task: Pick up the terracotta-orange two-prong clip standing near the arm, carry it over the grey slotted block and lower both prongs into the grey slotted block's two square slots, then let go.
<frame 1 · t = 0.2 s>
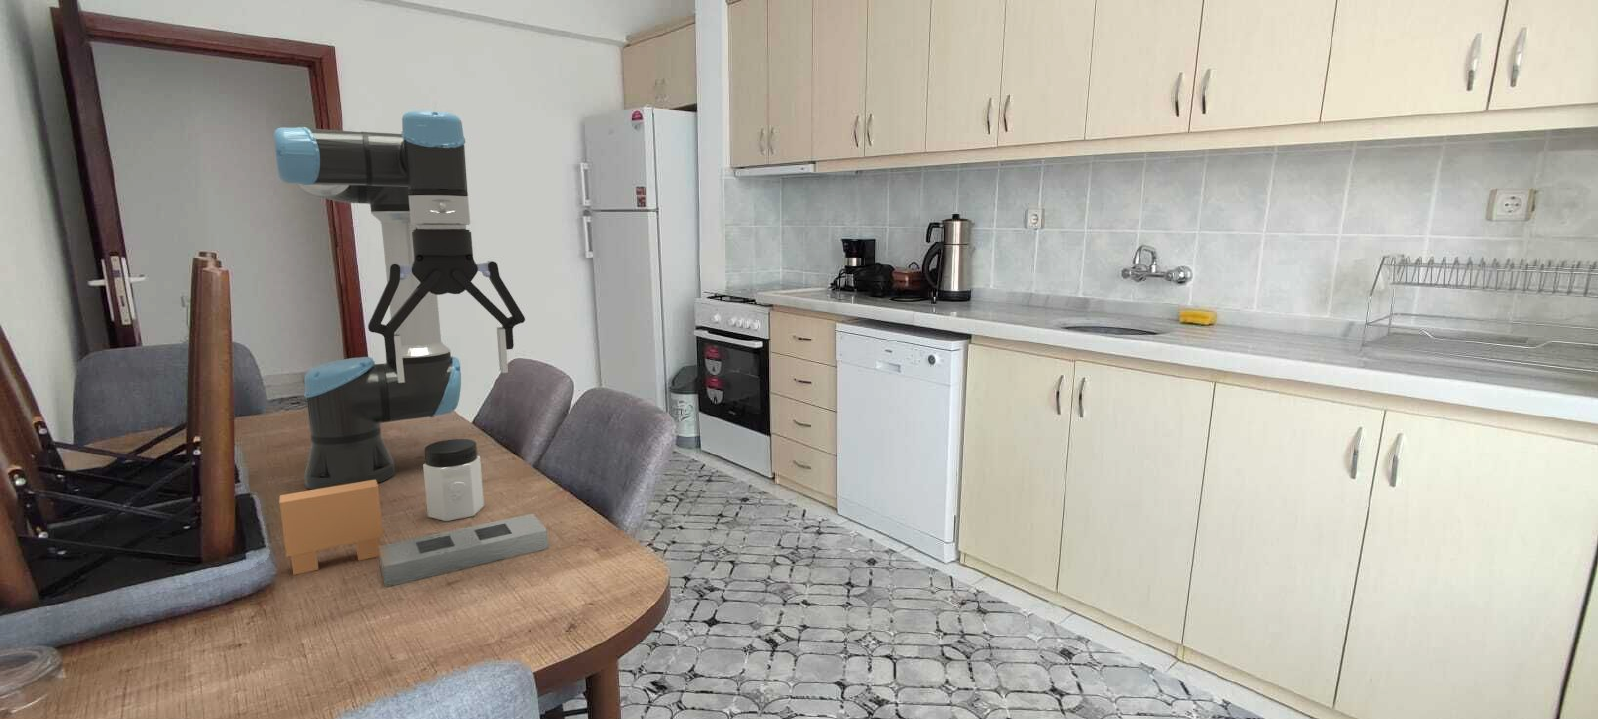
hand: (454, 376, 107), 27 cm above the table, tool pointing down, fingers open, 13 cm apart
clip: (338, 561, 109), on the table
jar: (456, 512, 128), on the table
grey slotted block: (466, 556, 110), on the table
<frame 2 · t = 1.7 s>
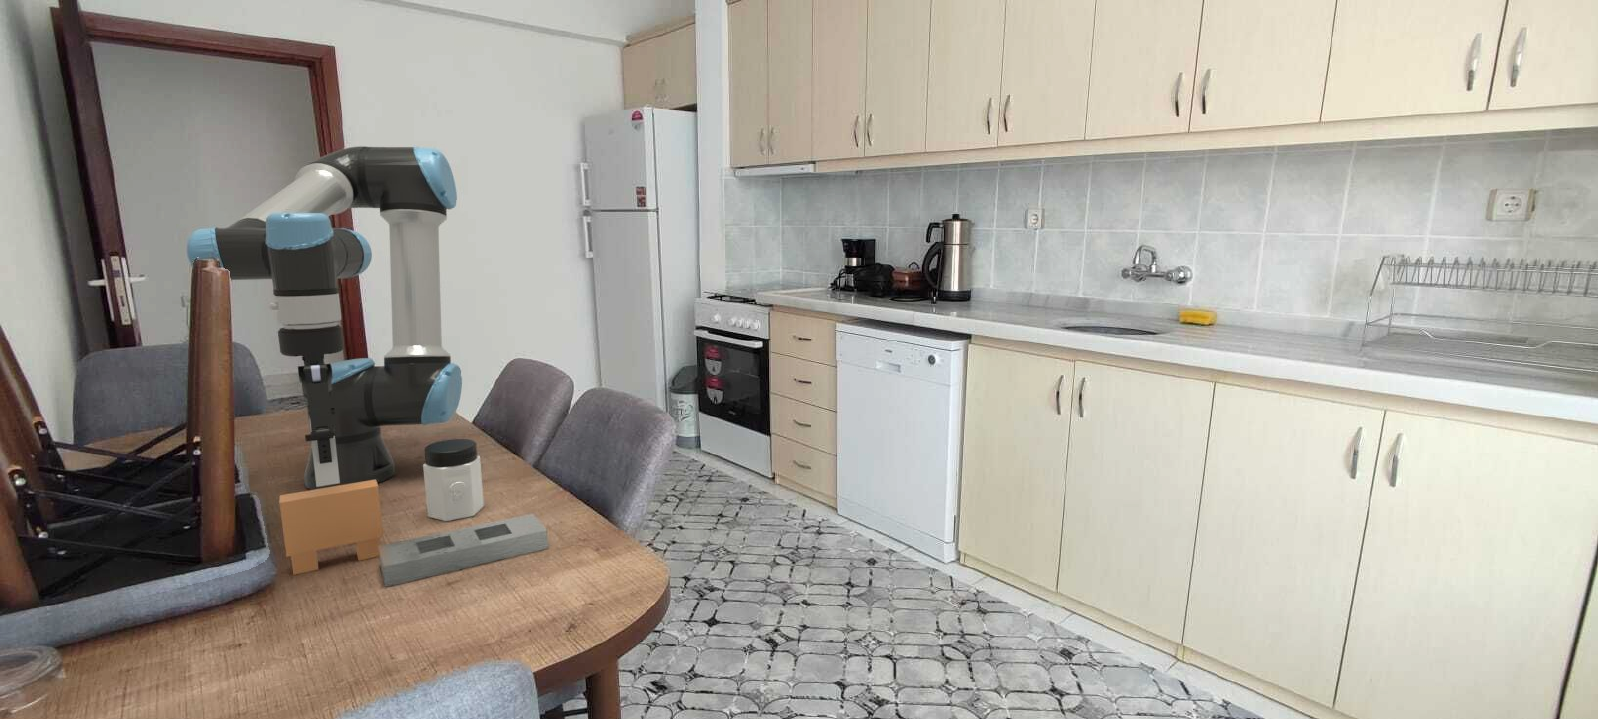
hand: (326, 471, 106), 14 cm above the table, tool pointing down, fingers open, 13 cm apart
nothing on the table moved.
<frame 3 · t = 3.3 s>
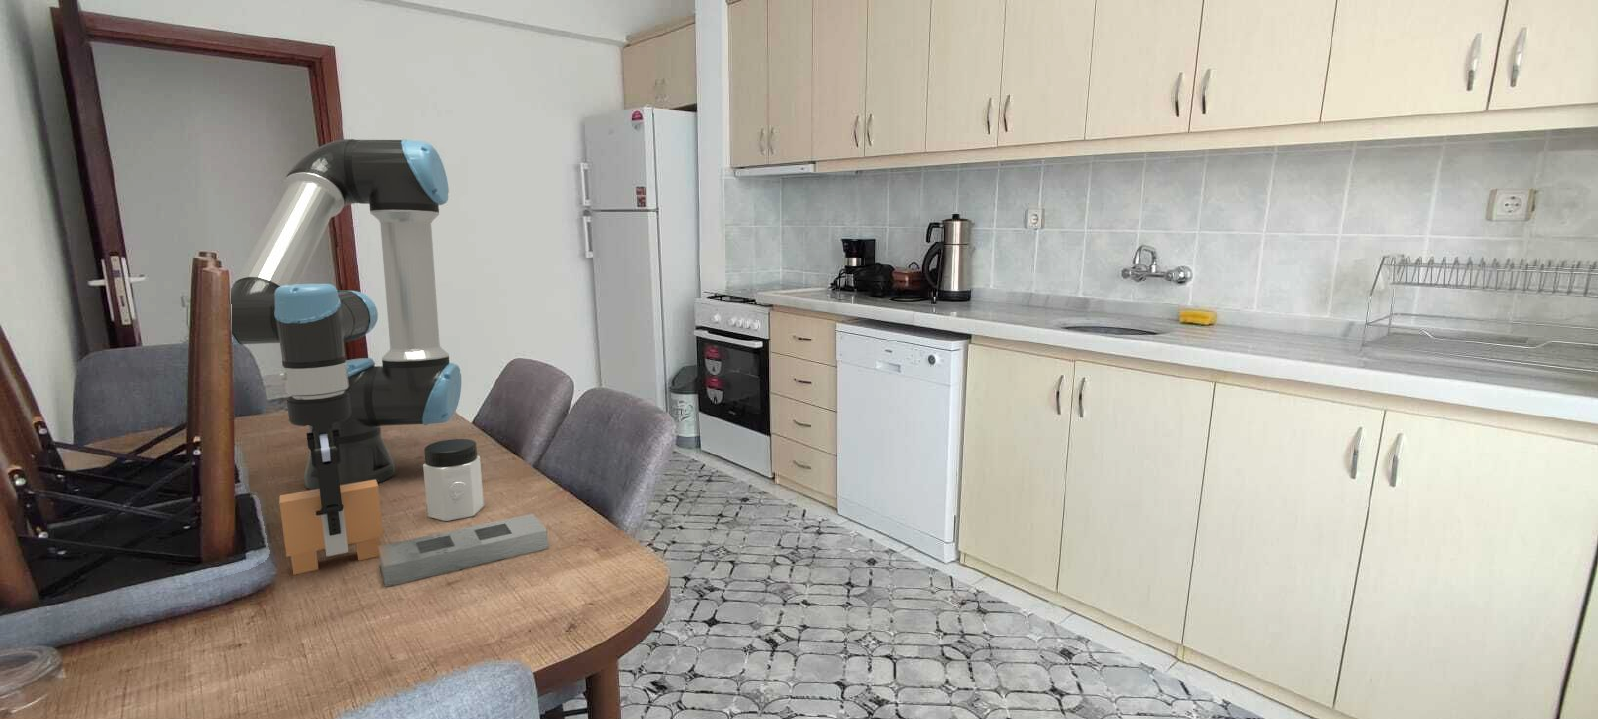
hand: (336, 547, 108), 2 cm above the table, tool pointing down, fingers closed on clip, 3 cm apart
clip: (338, 561, 109), on the table, touching gripper
everything else where it was.
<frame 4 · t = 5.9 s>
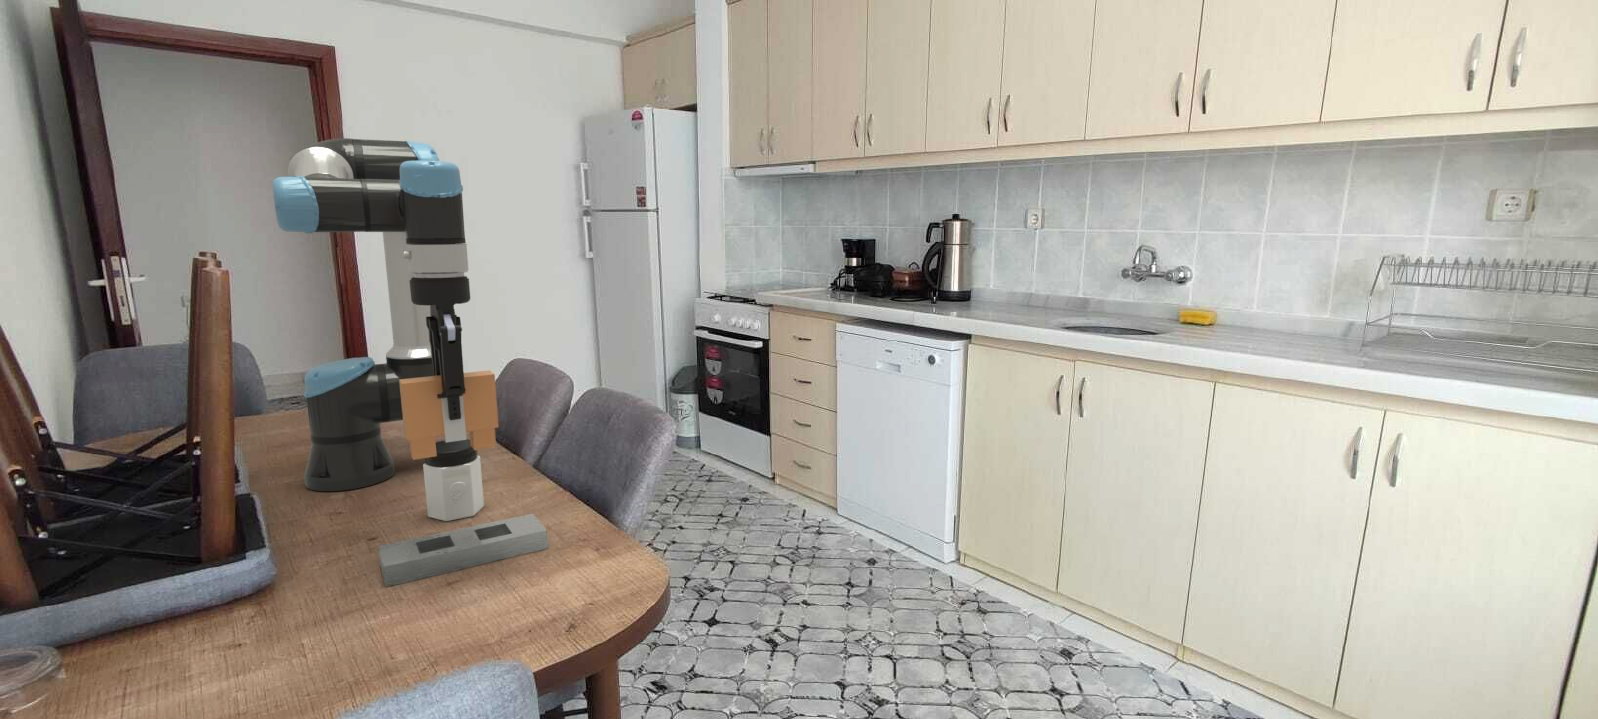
hand: (453, 436, 107), 19 cm above the table, tool pointing down, fingers closed on clip, 3 cm apart
clip: (454, 450, 107), point 17 cm above the table, touching gripper
everything else where it was.
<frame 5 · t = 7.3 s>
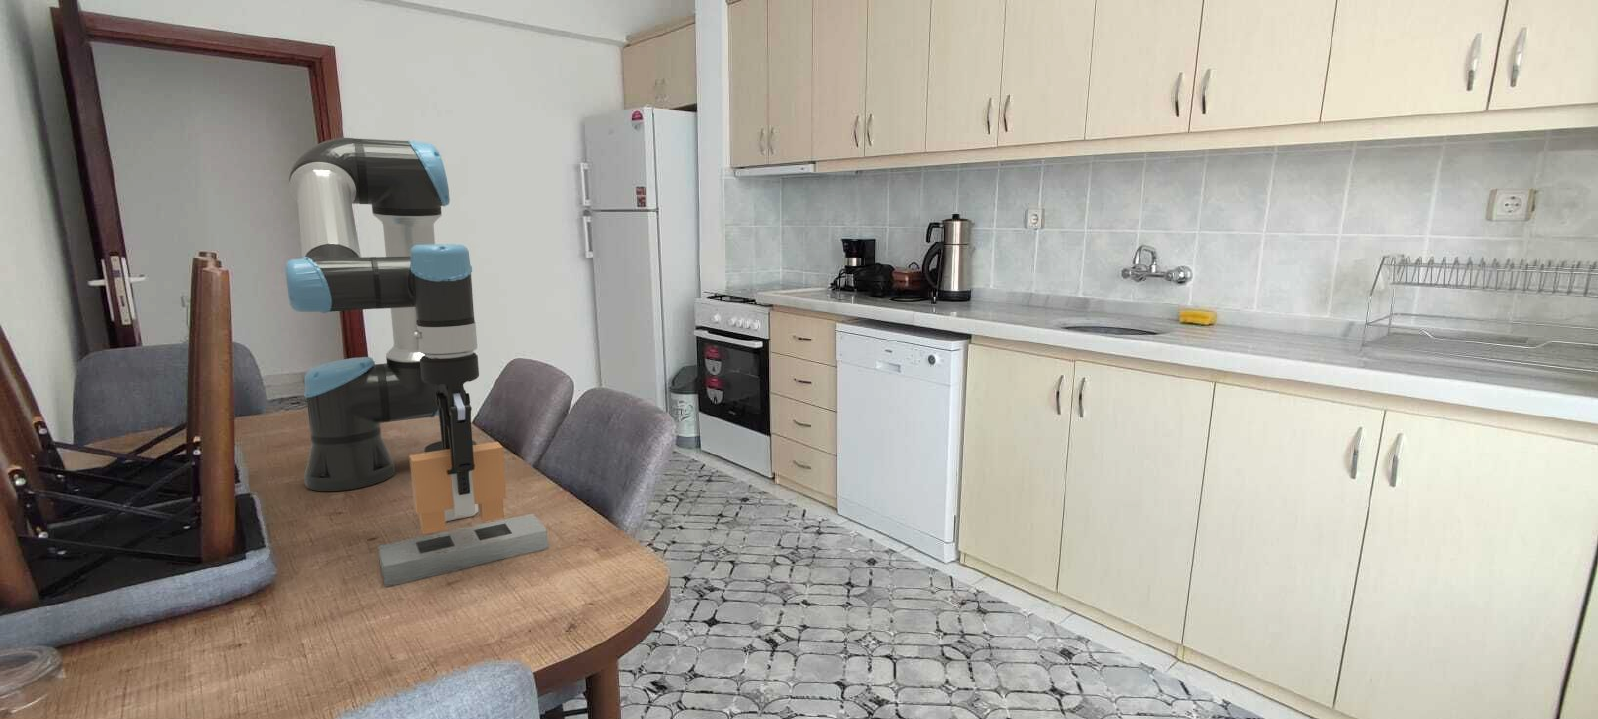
hand: (462, 508, 109), 8 cm above the table, tool pointing down, fingers closed on clip, 3 cm apart
clip: (462, 522, 109), point 5 cm above the table, touching gripper
everything else where it was.
when the fingers open (4 cm above the table, at t = 8.3 s): clip drops 1 cm, resting on grey slotted block.
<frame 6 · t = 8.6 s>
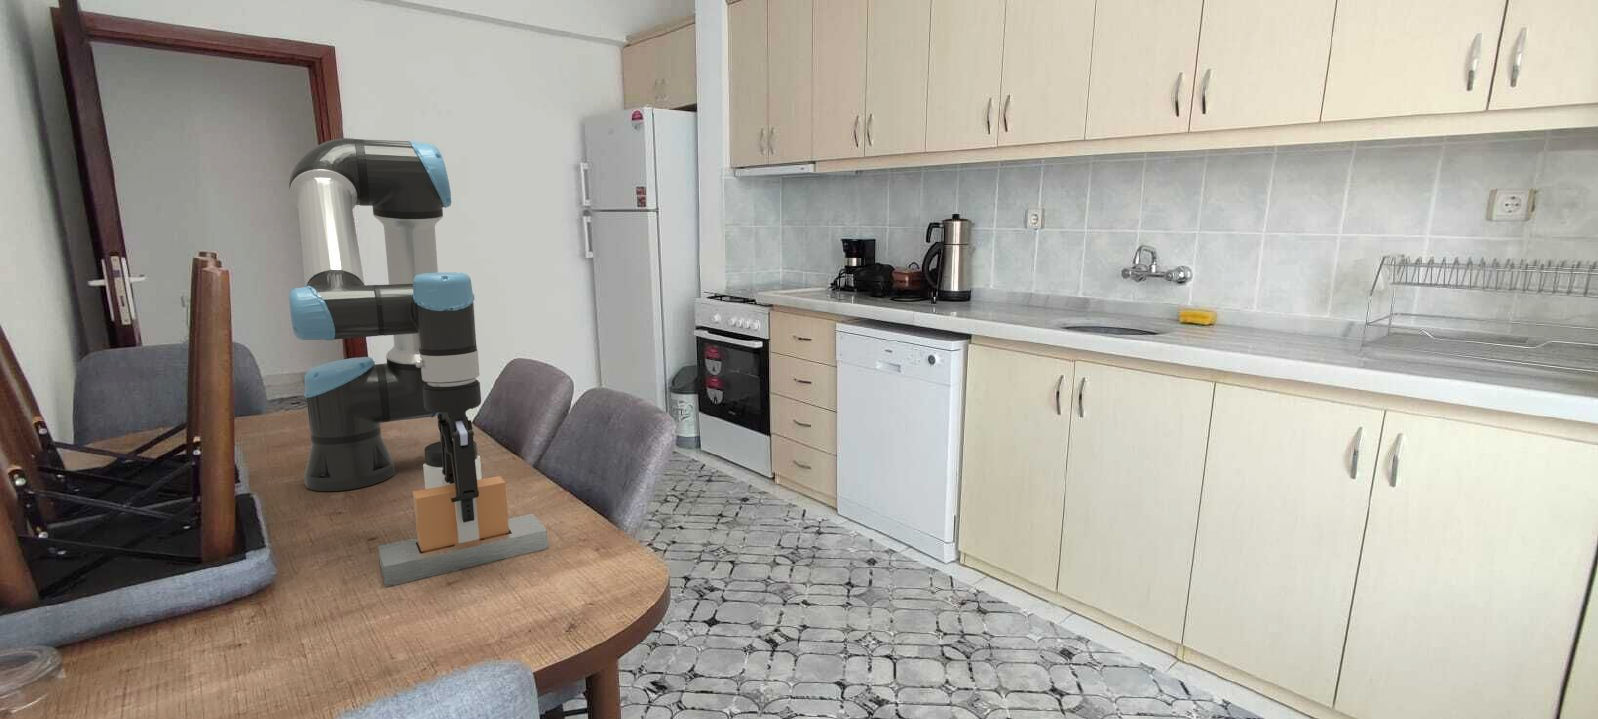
hand: (464, 531, 110), 4 cm above the table, tool pointing down, fingers open, 7 cm apart
clip: (465, 556, 110), resting on grey slotted block
everything else where it was.
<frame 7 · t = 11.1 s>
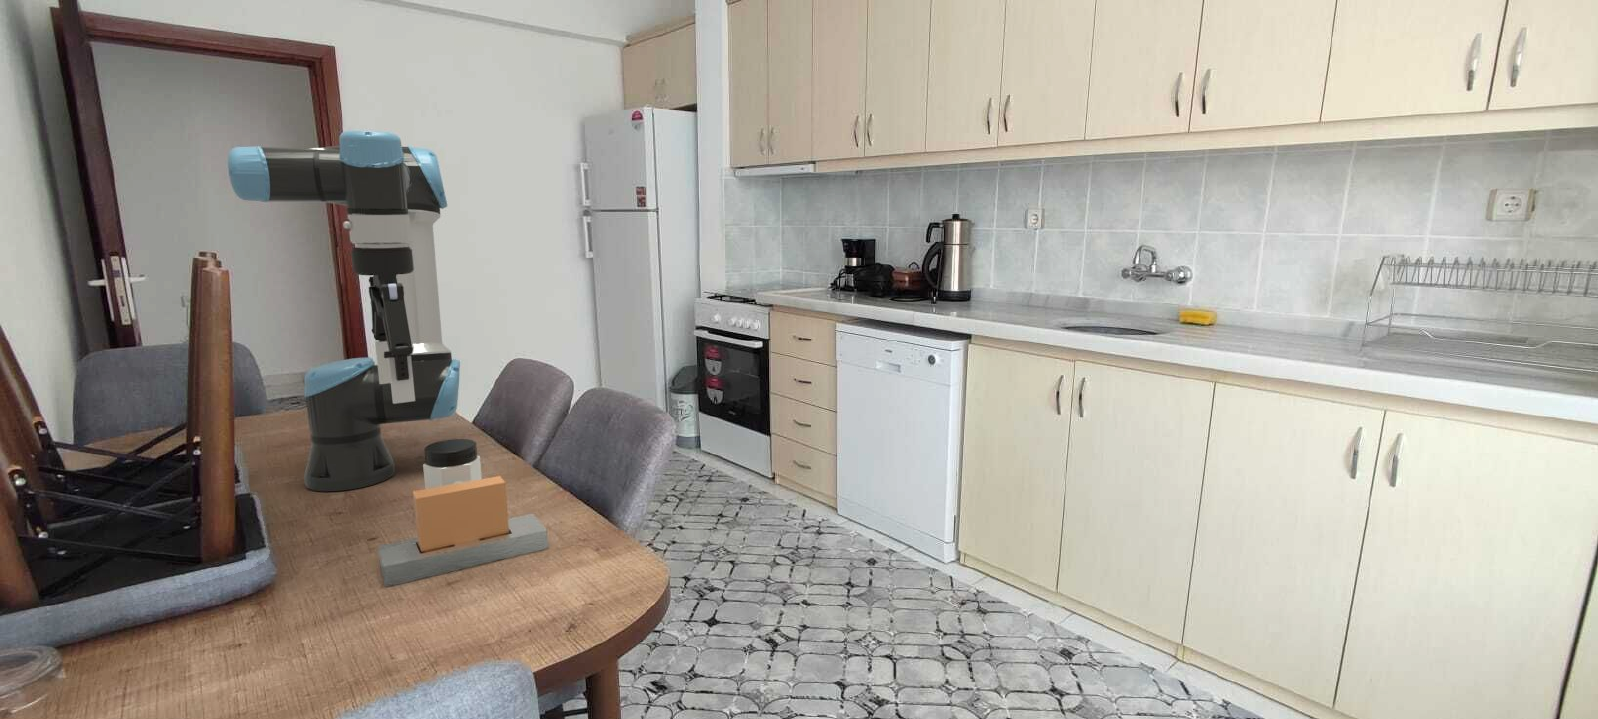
hand: (396, 392, 108), 25 cm above the table, tool pointing down, fingers open, 13 cm apart
nothing on the table moved.
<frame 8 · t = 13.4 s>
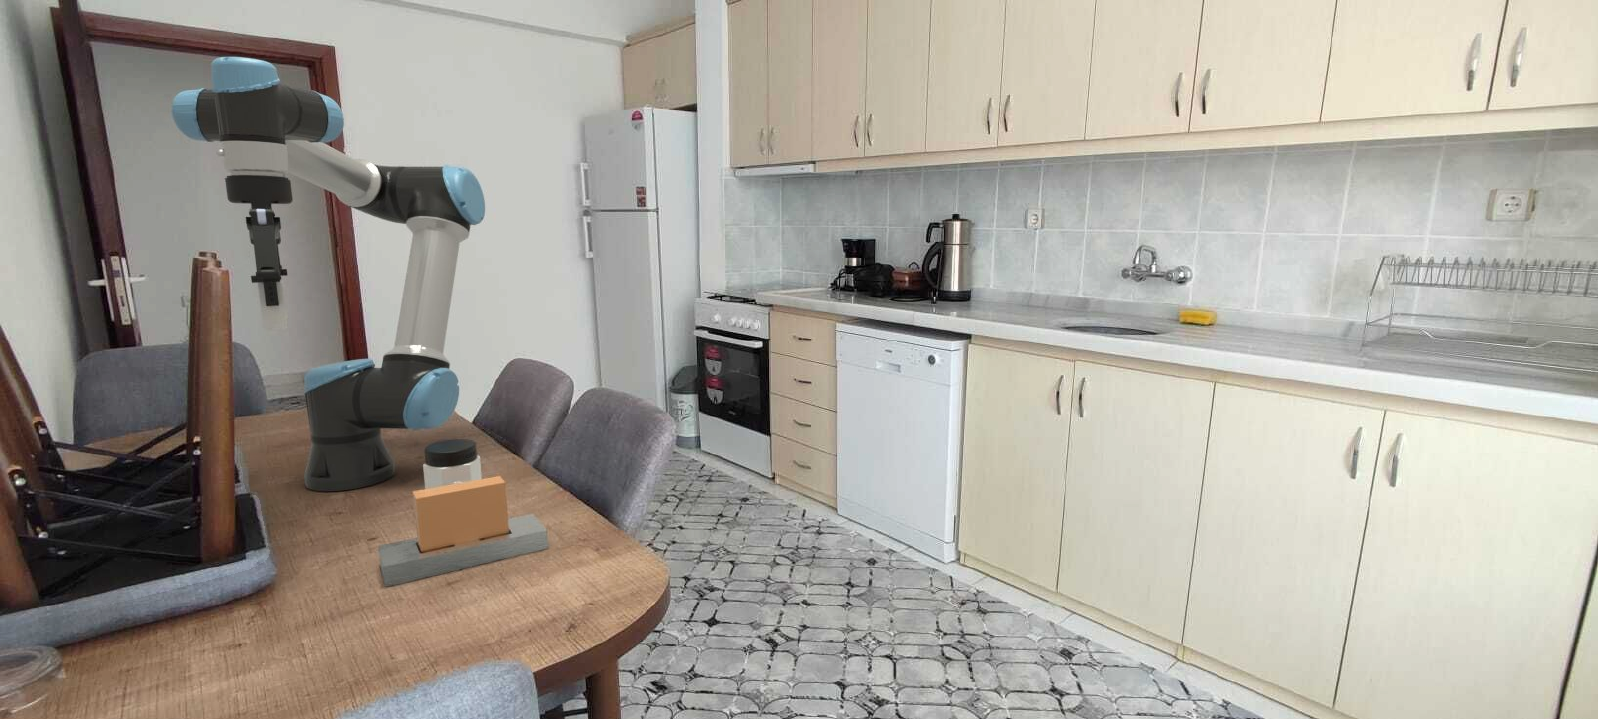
hand: (276, 324, 108), 35 cm above the table, tool pointing down, fingers open, 13 cm apart
nothing on the table moved.
at the end: clip 0.1 cm off-centre on the grey slotted block, point 0.0 cm above the grey slotted block's base; clip tilted 0°; the gripper is holding nothing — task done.
